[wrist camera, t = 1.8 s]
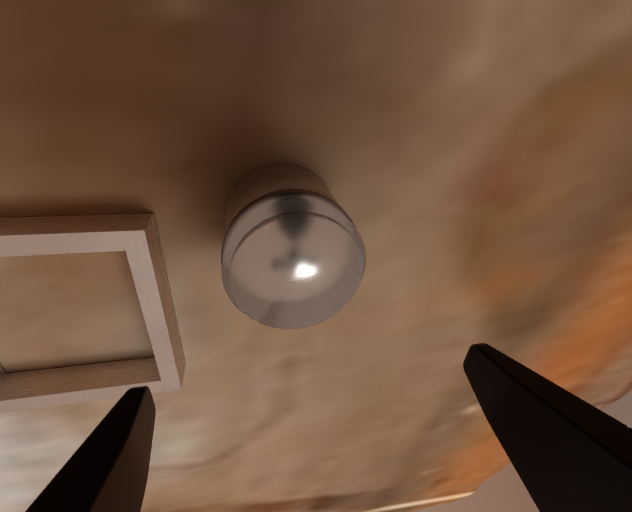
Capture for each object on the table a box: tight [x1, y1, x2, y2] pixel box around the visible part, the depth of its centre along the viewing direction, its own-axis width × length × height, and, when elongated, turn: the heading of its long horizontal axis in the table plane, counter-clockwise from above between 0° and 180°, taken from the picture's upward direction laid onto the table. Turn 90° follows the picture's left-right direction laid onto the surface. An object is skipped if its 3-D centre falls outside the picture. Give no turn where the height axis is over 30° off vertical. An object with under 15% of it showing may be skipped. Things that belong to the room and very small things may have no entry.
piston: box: [221, 163, 366, 329], centre depth 16 cm, size 6×6×6 cm
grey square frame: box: [0, 213, 186, 413], centre depth 17 cm, size 12×11×2 cm
